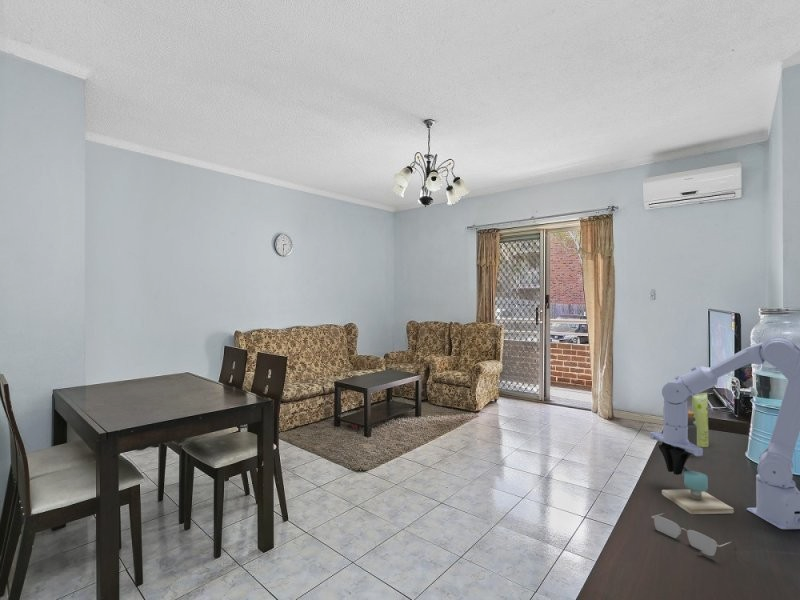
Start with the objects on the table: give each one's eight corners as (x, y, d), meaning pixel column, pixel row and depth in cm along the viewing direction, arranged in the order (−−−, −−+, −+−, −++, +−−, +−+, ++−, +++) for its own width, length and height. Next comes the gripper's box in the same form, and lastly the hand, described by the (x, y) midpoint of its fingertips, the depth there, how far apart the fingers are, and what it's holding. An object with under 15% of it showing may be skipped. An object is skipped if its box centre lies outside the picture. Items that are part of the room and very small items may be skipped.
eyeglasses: (651, 529, 98) (650, 512, 98) (669, 520, 102) (669, 504, 102) (719, 561, 86) (719, 541, 86) (738, 549, 90) (737, 531, 90)
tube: (710, 450, 150) (709, 395, 150) (692, 447, 152) (692, 394, 152) (707, 445, 154) (707, 392, 155) (691, 443, 157) (690, 391, 157)
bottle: (679, 457, 143) (679, 413, 143) (674, 451, 149) (673, 409, 149) (699, 458, 141) (699, 414, 141) (693, 452, 147) (692, 410, 147)
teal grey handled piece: (711, 492, 107) (711, 479, 107) (689, 490, 108) (689, 477, 108) (691, 474, 118) (690, 462, 118) (671, 472, 119) (671, 461, 119)
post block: (733, 513, 105) (733, 496, 105) (691, 514, 104) (691, 497, 104) (700, 493, 116) (700, 478, 116) (661, 494, 115) (661, 479, 115)
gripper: (711, 431, 111) (711, 482, 111) (663, 416, 125) (662, 461, 125) (691, 433, 109) (690, 484, 109) (644, 417, 123) (644, 463, 123)
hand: (674, 472), depth 117 cm, fingers closed
